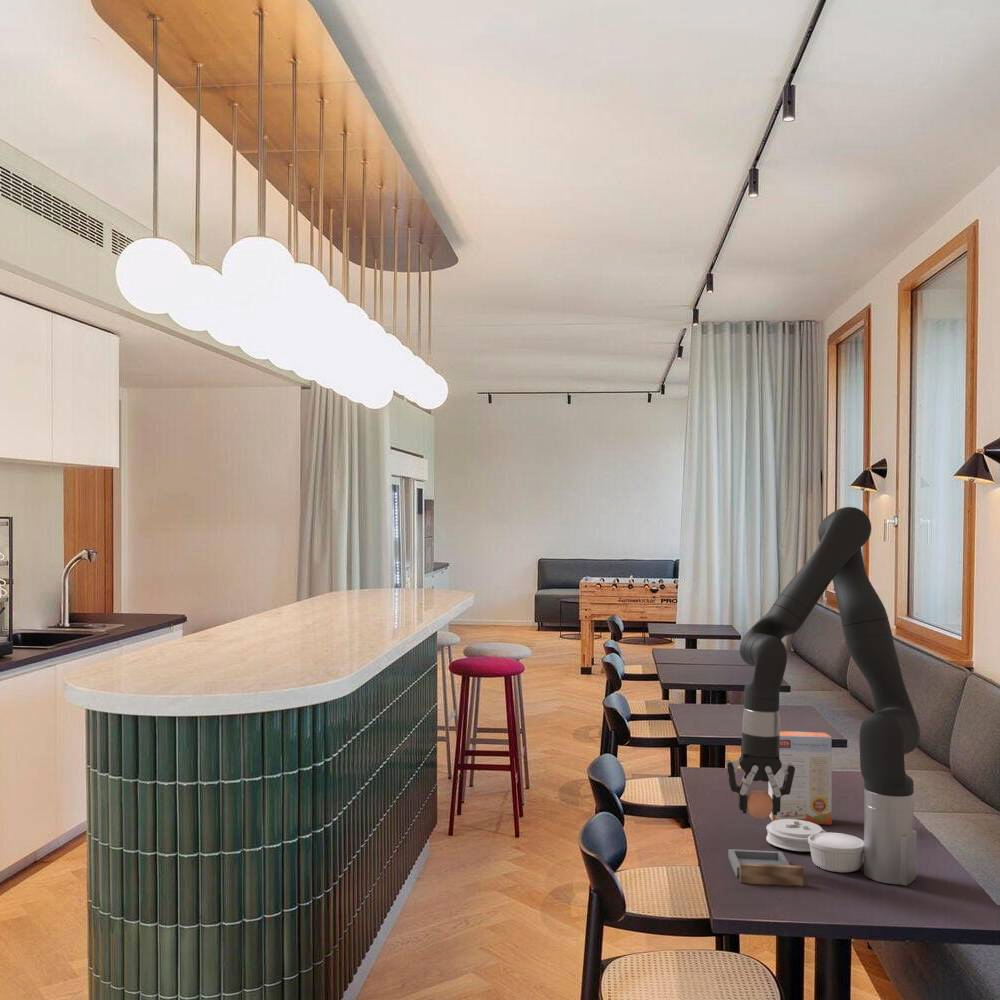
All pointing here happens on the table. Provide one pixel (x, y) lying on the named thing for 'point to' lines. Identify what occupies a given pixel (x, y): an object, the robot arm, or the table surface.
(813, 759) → the cracker box
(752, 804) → the ball
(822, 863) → the ramekin
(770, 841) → the lid
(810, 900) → the table surface
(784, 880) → the wall
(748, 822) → the table surface
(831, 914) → the table surface
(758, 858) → the tray
